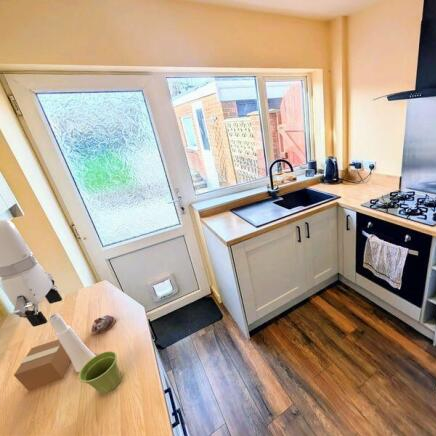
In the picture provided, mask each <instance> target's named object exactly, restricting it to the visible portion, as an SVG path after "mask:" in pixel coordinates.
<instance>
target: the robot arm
mask: <svg viewBox="0 0 436 436" xmlns="http://www.w3.org/2000/svg"><path fill="white" fill-rule="evenodd" d="M0 283H1V286H2V288H3V290H4V292H5V294H6V296H7V297H8V299H9V301H10V302H11V305H13V307H14V309H13V314H14V315H17V316H18V317H20V318H24V319H27V321H28V322H29V324H30V325H31V326H32V327H34V328H35V327H39V326H41V325H45V324H47V323H48V319H47V318H46V317H45V315H44V313H43V312H42V311H40V310H39V304H40V303H41V302H42V301H43V300H44V298H45V299H46V301H47V302H48V303H49V304H50V305H51V304H55V303H59V302H62V300H63V298H62V296H61V294H60V292H59V291H58V290H57V289H58V288H57V285H55V279H54V278H53V274H52V273H47V272H46V271H45V269H44V268H43V267H42V265H41V264H40V263H39V261H38V260H37V258H36V257H35V255H34V254H33V252H32V250H31V249H30V247H29V246H28V244H27V243H26V241H25V239H24V238H23V236H22V235H21V232H20V231H19V230H18V228H17V227H16V225H15V224H14V223H13V222H12V221H9V220H0ZM29 308H32V310H29Z"/></svg>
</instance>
